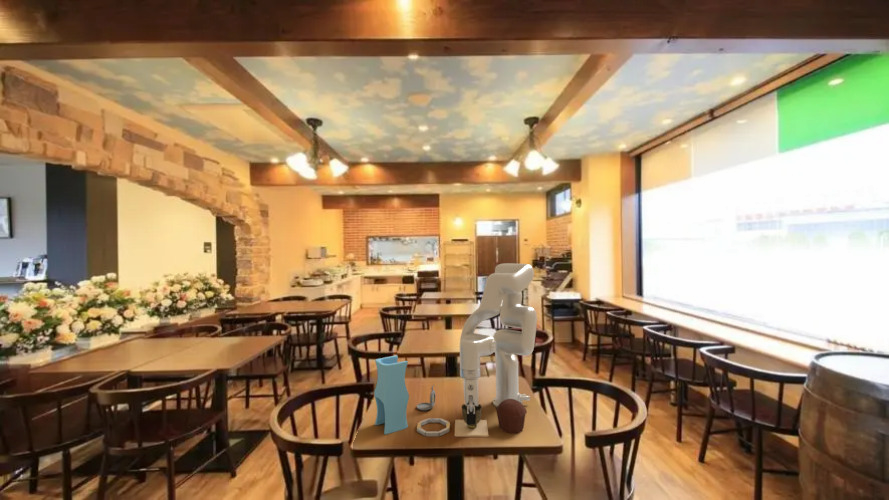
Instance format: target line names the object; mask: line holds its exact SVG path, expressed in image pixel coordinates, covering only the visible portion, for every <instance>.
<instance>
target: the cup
mask: <svg viewBox="0 0 889 500" xmlns="http://www.w3.org/2000/svg"><path fill="white" fill-rule="evenodd" d="M473 404H474V403H473ZM482 407H483V406H482V405H481V404H480V403H479V405H478V407H477V406H475V413H476V424H475V425H467V427H468V428H469V429H475V428H476V427H477V424H478V423H479V421H480V420H481V416H482ZM461 412H462V420H464V421H465V423H466V424H467V406H466V405H465V403H463V404H461Z"/></svg>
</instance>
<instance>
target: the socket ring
mask: <svg viewBox="0 0 889 500" xmlns="http://www.w3.org/2000/svg"><path fill="white" fill-rule="evenodd" d="M430 423H432V424H434V423H435V424H439V423H440V424H442V426H445V428H442V429H441V430H437V431H435V430H434V431H433V430H432V431H427V430H425V429H423V428H422V426H424V425H427V424H430ZM416 425H417V426H416V432H417V433H418V434H420V435H422V436H424V437H442V436H443V435H445V434H448V433H449V432H450V428H451V423H450V421H448V420H447V419H446V420H445V419H444V418H440V417H437V418H435V417H428V418H426V419H422V420H420V421H419V422H417V424H416Z"/></svg>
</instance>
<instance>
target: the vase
mask: <svg viewBox="0 0 889 500" xmlns="http://www.w3.org/2000/svg"><path fill="white" fill-rule="evenodd" d="M398 358H399V357H398V355H396V354H395V355H391V356H385V357H382V358H381V357H379V358H376V359H375V360H374V361H375V365H376V370H377V381H376V386H375V389H374V392H373V396H374V399H375V405H376V418H375V422H374V426H378V425H382V424H384V430H383V434H384V435H388V434H392V433H396V432H399V431H403V430H405V429H407V428H408V427H409V426H408V420H407V409H408V408H407V407H408V403H409V399H410V394H409V391H408V388H407V384H406V379H405V377H406V370H407V366H408V364H409V363H408V361H407V360H404V361H399V362H398V360H399V359H398Z"/></svg>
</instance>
